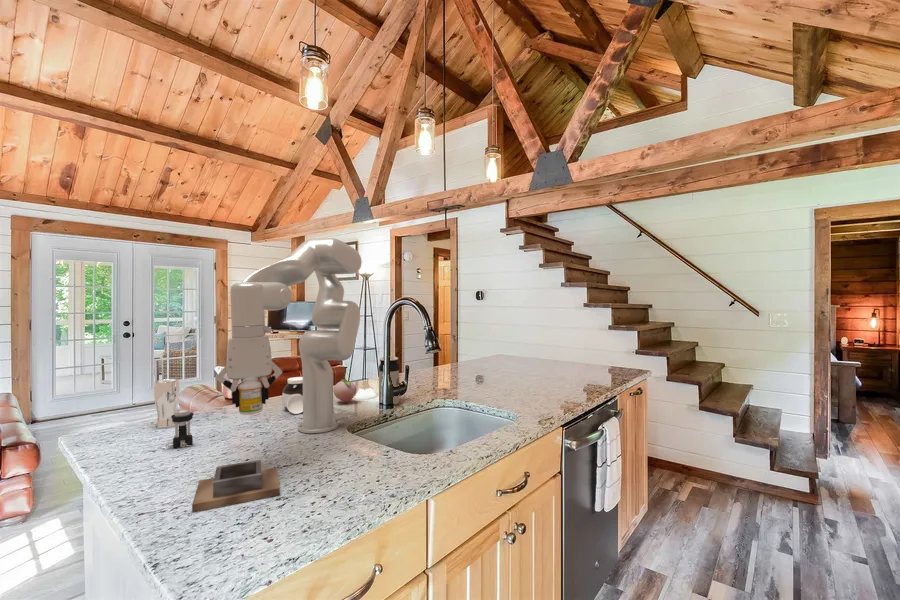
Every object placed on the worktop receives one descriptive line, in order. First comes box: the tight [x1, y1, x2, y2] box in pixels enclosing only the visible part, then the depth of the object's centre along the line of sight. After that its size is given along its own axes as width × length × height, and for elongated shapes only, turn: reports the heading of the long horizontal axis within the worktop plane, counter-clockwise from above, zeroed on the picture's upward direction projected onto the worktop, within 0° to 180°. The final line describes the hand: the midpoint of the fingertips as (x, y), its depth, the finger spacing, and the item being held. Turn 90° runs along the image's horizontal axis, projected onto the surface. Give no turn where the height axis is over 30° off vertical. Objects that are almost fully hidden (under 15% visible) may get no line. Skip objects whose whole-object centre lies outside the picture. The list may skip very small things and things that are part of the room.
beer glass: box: [153, 378, 180, 429], centre depth 137 cm, size 7×7×15 cm
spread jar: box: [281, 376, 303, 415], centre depth 155 cm, size 12×11×12 cm
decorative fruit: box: [333, 377, 357, 404], centre depth 165 cm, size 9×8×10 cm
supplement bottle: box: [237, 377, 264, 416], centre depth 103 cm, size 5×5×10 cm
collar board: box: [191, 459, 281, 513], centre depth 90 cm, size 16×12×4 cm
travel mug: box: [378, 356, 400, 405], centre depth 165 cm, size 8×8×18 cm
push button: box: [165, 409, 194, 449], centre depth 118 cm, size 7×5×10 cm
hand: (250, 403), depth 103 cm, fingers closed on supplement bottle, 5 cm apart
